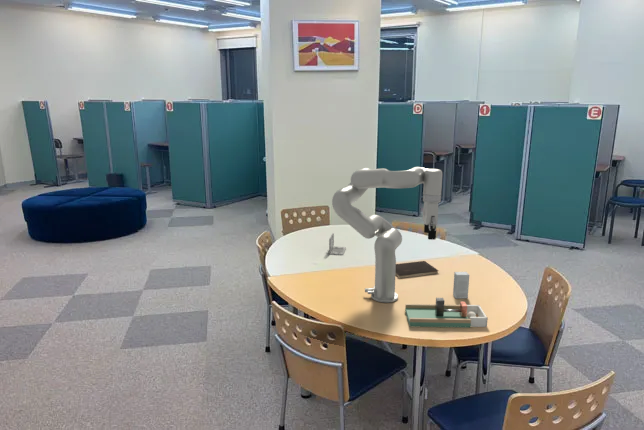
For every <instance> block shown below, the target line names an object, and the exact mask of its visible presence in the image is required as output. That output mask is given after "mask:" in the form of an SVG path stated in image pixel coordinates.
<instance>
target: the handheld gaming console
mask: <svg viewBox="0 0 644 430" xmlns="http://www.w3.org/2000/svg"><path fill="white" fill-rule="evenodd" d="M334 234H335V233H334V232H332V233H331V234H330V236H329V240H328V242H329V243H328V245H329V246H328V247H329V249H328V251H329V252H328V253H327V254H328V255H331V256H332V255H335V256H344V254H345V252H346V250H347V248H346V247H345V246H334V244H335V240H334V239H335V235H334Z"/></svg>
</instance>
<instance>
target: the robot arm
mask: <svg viewBox="0 0 644 430" xmlns="http://www.w3.org/2000/svg"><path fill="white" fill-rule="evenodd" d="M421 184H423V189H422V190H423V192H422V202H423V209H422V222H423V223H424V224H423V226H424V227H423V228H424V229H423V233H424V234H427V240H431V241H433V240H436V239H437V225H438V220H439V204H440V203H441V200H442V190H443V189H442V186H443V171H442V169H438V168H425V167H421V166H414V167H411V168H410V169H407V170H389V169H387V168H383V167H382V168H369V167H362V168H360V169H356V170H355V171H353V173H352V174H351V176H350V181H349V183H348V185H346V186H344V187H342V188H341V187H340V188H339V189H338V190H336V192H334V194H333V196H332V198H331V199H332V200H331V203H332V204H331V205H332V209H333V211H334V213H335V214H336V215H337V216H338V217H339V218H340V219H342V220H343V221H344V222H345V223H347V224H348V225H349V226H350V227H351V228H352V229H353V230H355V231H356V232H357V233H358V234H360V235H361V236H362V237H363V238H364V239H368V240H369V239H374V238H375V237H377V238H376V239H375V242H374V247H373V248H374V255H375V256H374V257H375V259H374V260H375V261H374V263H375V265H374V266H375V267H374V285H373V287H371V288H369V287H365V288H364V292H365V293H367V295H370V296H371V299H372V300H373V301H375V302H378V303H386V304H387V303H393V302H395V301H398V299H399V294H398V293H397V292H396V275H395V274H396V264H397V258H396V250H397V249H398V247H400V245H401V244H402V242H403V235H402V233H401V232H400V230H398V229H397V228H396V227H395V226H394V225H392V224H391V223H390V222H389V221H388V220H386V219H385V218H384V217H382V215H378V214H370V215H367V214H366V213H364V212H363V210H360V209H359V208H357V207H355V206H353V205H352V204H353V203H355V202H357V201H358V200H359V199H361V197H362V196H363V195H364V194H365V193H366V192H367V190H368V189H377V188H378V189H380V188H383V189H384V188H386V189H410V188H411V189H412V188H415V187H417V186H418V185H421Z"/></svg>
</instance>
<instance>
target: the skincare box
mask: <svg viewBox="0 0 644 430" xmlns="http://www.w3.org/2000/svg"><path fill="white" fill-rule="evenodd" d="M469 284H470V274H469V273H468V272H467V271H454V272H453V289H452V296H453V297H454V299H468V298H469V286H470V285H469Z"/></svg>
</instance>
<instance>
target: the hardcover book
mask: <svg viewBox="0 0 644 430" xmlns="http://www.w3.org/2000/svg"><path fill="white" fill-rule="evenodd" d="M438 273H439V270H438V269H437V268H436V267H434V266H433V265H431V264H430V263H429V262H427V261H425V260H420V261H410V262H404V263H403V262H402V263H396V274H395V277H397V278H399V279H401V278H402V279H404V278H411V277H418V276H425V275H427V276H428V275H436V274H438Z"/></svg>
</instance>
